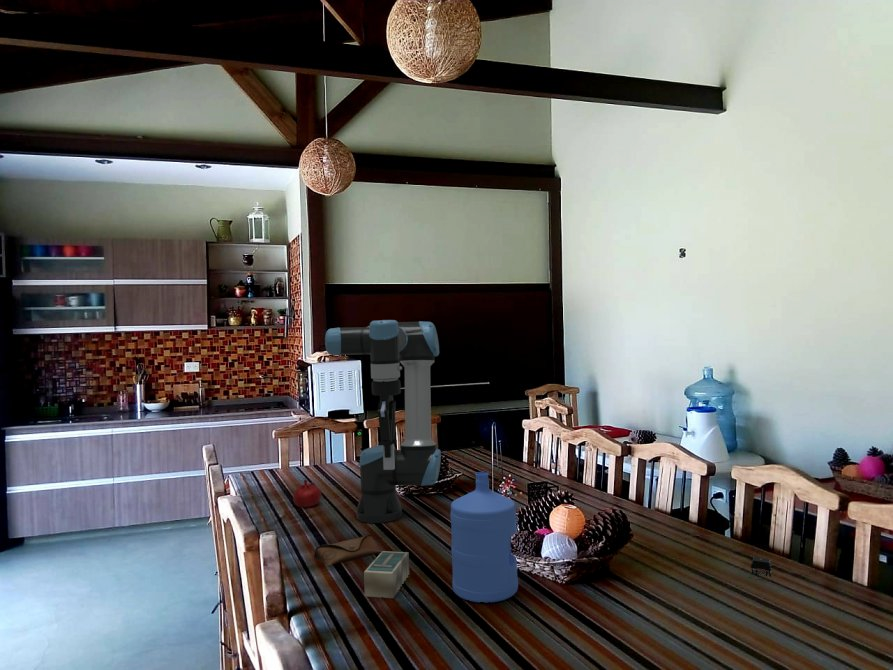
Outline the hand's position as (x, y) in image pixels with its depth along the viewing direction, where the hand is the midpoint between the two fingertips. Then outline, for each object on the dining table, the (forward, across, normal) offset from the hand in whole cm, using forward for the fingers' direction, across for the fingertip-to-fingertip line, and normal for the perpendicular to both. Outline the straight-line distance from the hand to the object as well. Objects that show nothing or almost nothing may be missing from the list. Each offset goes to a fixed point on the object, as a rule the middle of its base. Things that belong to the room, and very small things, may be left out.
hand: (389, 468), depth 169 cm
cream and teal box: (+23, -5, -2) cm, 24 cm away
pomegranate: (+28, +57, +41) cm, 75 cm away
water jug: (+26, -14, -25) cm, 39 cm away
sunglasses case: (+27, +8, +14) cm, 31 cm away
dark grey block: (+27, -4, -92) cm, 96 cm away
